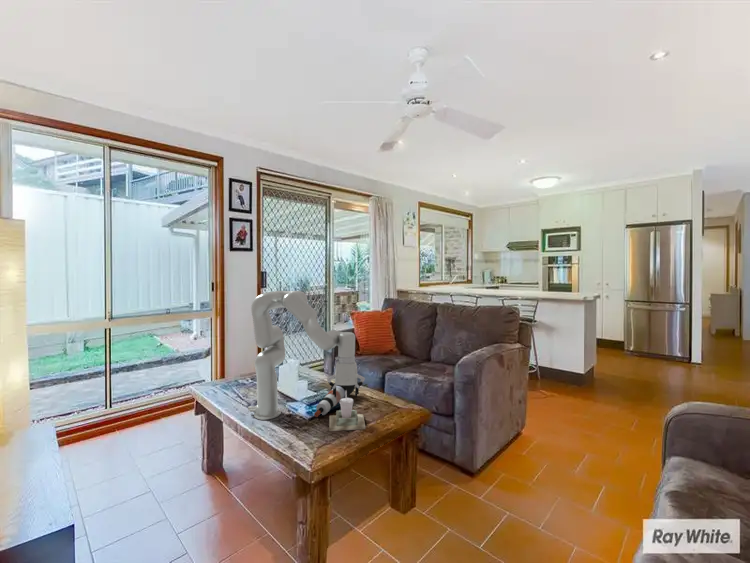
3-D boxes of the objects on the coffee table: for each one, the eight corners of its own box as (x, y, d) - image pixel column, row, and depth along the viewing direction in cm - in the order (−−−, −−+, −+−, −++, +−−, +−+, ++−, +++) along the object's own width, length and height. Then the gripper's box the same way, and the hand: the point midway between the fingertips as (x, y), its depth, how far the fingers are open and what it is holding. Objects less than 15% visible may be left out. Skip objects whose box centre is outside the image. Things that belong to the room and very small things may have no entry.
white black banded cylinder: (312, 427, 170) (303, 408, 170) (344, 395, 201) (335, 379, 202) (329, 421, 166) (319, 402, 166) (358, 389, 197) (349, 373, 198)
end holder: (329, 430, 157) (329, 421, 157) (329, 418, 170) (329, 409, 170) (365, 428, 159) (365, 419, 159) (362, 416, 172) (362, 407, 172)
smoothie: (350, 416, 169) (349, 387, 168) (355, 422, 163) (355, 392, 162) (337, 419, 166) (337, 390, 165) (342, 425, 160) (342, 394, 159)
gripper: (327, 362, 158) (326, 399, 159) (366, 361, 160) (365, 398, 161) (327, 357, 165) (326, 393, 166) (364, 357, 167) (363, 392, 169)
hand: (345, 395), depth 164 cm, fingers open, 9 cm apart
